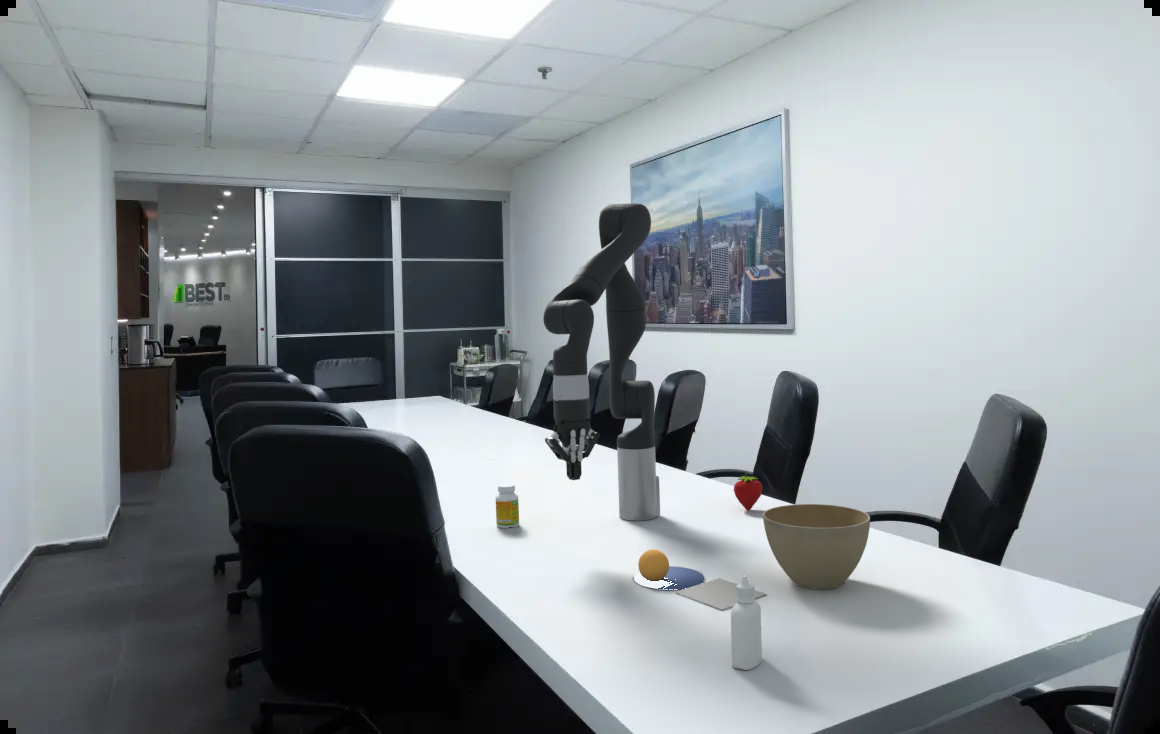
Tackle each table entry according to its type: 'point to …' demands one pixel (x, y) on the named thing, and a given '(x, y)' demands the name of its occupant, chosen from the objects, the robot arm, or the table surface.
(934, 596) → the table surface
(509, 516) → the supplement bottle
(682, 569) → the disc
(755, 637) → the eye dropper bottle
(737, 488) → the strawberry
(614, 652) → the table surface
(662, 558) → the ball
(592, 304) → the robot arm
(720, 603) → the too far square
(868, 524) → the beige bowl
